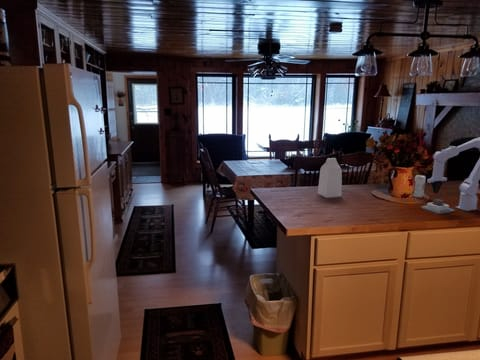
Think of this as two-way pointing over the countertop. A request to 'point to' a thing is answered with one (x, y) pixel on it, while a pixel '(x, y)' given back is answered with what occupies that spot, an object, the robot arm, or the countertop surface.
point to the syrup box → (419, 186)
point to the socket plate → (437, 208)
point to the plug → (438, 202)
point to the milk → (330, 179)
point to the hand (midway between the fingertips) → (435, 193)
